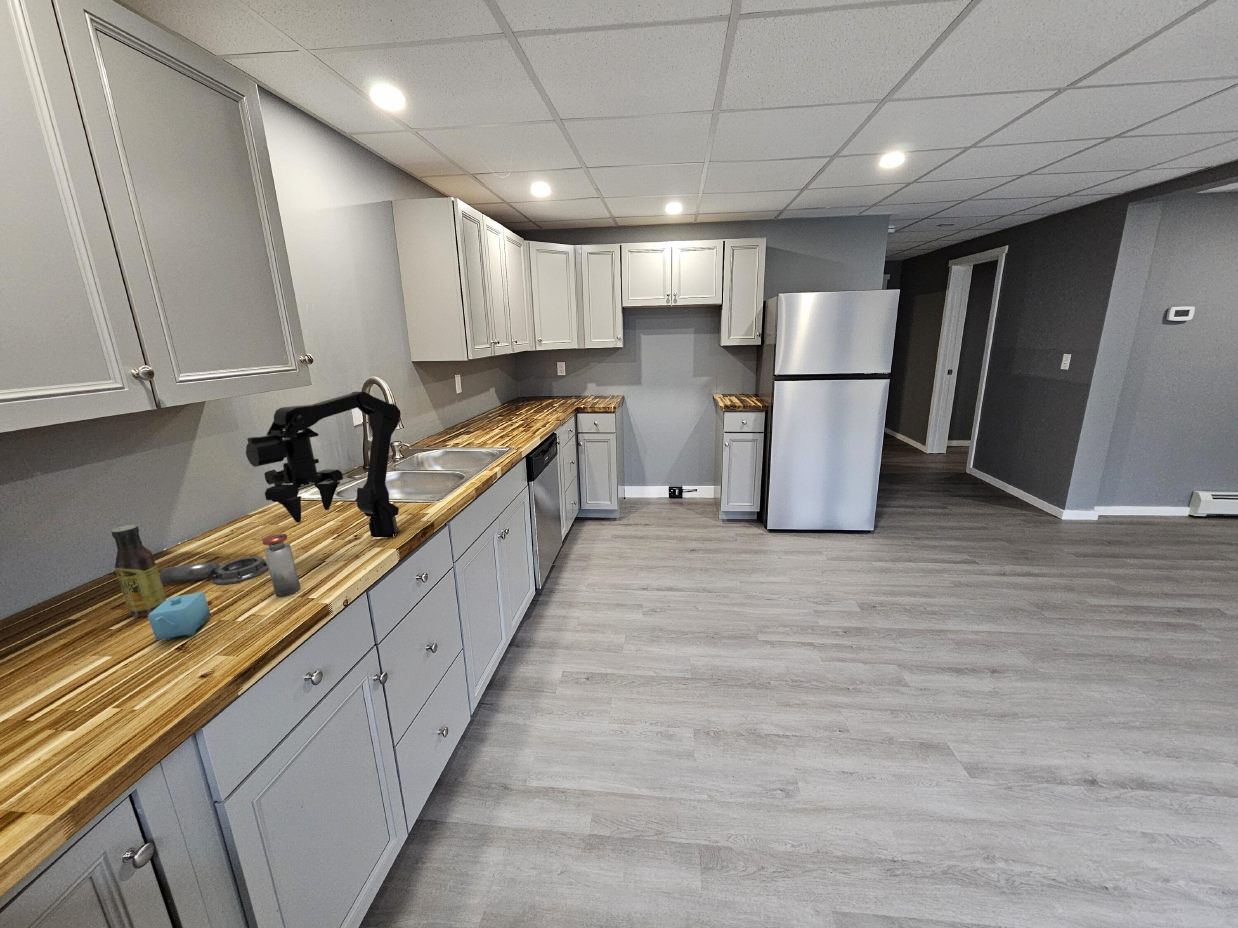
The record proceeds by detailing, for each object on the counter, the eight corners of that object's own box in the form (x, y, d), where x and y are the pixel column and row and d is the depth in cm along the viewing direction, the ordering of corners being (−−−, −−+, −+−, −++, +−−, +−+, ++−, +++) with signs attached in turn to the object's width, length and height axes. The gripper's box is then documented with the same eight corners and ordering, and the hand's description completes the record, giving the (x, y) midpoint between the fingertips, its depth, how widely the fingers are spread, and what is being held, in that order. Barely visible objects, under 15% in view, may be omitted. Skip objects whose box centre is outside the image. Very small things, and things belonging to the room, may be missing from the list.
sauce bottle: (123, 616, 106) (93, 532, 101) (157, 602, 112) (130, 521, 107) (143, 620, 104) (113, 534, 99) (176, 604, 110) (149, 523, 105)
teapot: (184, 647, 93) (173, 612, 91) (146, 654, 92) (134, 619, 90) (215, 615, 104) (206, 583, 102) (182, 621, 103) (171, 589, 101)
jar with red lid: (289, 585, 116) (275, 533, 112) (306, 586, 115) (292, 533, 111) (270, 596, 111) (255, 541, 108) (287, 597, 110) (273, 542, 106)
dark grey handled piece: (279, 560, 131) (275, 546, 130) (256, 580, 119) (252, 565, 118) (183, 572, 127) (179, 558, 126) (150, 594, 115) (145, 579, 114)
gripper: (303, 449, 132) (315, 503, 136) (238, 466, 114) (254, 528, 118) (338, 449, 130) (349, 504, 133) (278, 466, 112) (292, 529, 116)
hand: (313, 515), depth 125 cm, fingers open, 9 cm apart
